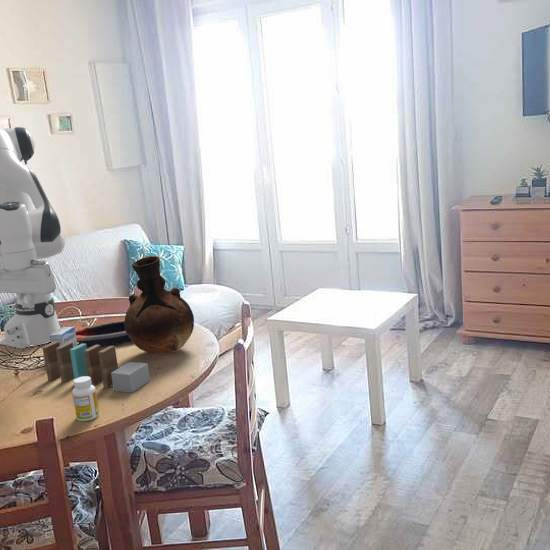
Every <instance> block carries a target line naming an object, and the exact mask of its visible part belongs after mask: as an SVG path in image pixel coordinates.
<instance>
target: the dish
mask: <svg viewBox="0 0 550 550" xmlns="http://www.w3.org/2000/svg"><path fill="white" fill-rule="evenodd" d="M124 321H125V320H120V321H114V322H112V321H111V322H106V323H100V324H96V325H91V326H86V327H82V328H79V329H75V334H76V340H77V342H79V344H78V345H80V344H87V348H90V347H92V346H94V345H101V347H104V346H105V347H106V346H114V345H118V344H124V343H129V342H132V340H131V339H130V338H129V336H128V335H127V333H126V330H125V327H124ZM78 345H77V346H78Z"/></svg>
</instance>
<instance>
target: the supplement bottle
mask: <svg viewBox="0 0 550 550" xmlns="http://www.w3.org/2000/svg"><path fill="white" fill-rule="evenodd" d="M73 386H74V388H73V390H72V398H73V399H72V400H73V405H74V411H75V412H74V413H75V416H76V419H77V421H80V422H89V421H91V420H95V419H96V418H98V417H99V415H100V409H99V408H100V407H99V403H98V395H97V389H96V387H95V385H94V386H93V385H91V378H90V377H89V376H83V377H79V378H76V379H73Z"/></svg>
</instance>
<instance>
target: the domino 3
mask: <svg viewBox="0 0 550 550" xmlns="http://www.w3.org/2000/svg"><path fill="white" fill-rule="evenodd" d="M86 349H88V347H87V344H80V345H78V346H76V347H74V348H72V349H70V354H71V360H72V366H73V372H74V378H73V380H75V379H76V378H79V377H83V376H88V374H87V368H86V362H85V355H84V350H86Z"/></svg>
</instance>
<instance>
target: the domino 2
mask: <svg viewBox="0 0 550 550" xmlns="http://www.w3.org/2000/svg"><path fill="white" fill-rule="evenodd" d="M72 348H73V343H69V342H68V343H66V344H64V345H62V346H60V347H58V348H56V353H57V359H58V365H59V370H60V376H61V377H60V382H61V383H67V382H69V381H72V380H74V372H73V366H72V360H71V354H70V349H72Z"/></svg>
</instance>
